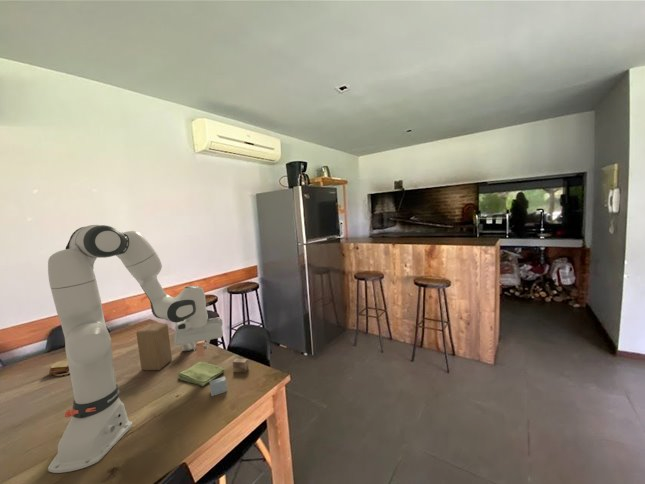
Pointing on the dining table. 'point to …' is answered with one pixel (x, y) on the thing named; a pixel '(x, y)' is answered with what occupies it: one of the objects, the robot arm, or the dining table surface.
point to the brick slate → (218, 386)
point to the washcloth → (201, 373)
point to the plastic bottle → (187, 347)
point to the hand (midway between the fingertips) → (201, 349)
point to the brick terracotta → (200, 348)
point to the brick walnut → (240, 365)
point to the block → (154, 346)
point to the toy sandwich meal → (60, 368)
